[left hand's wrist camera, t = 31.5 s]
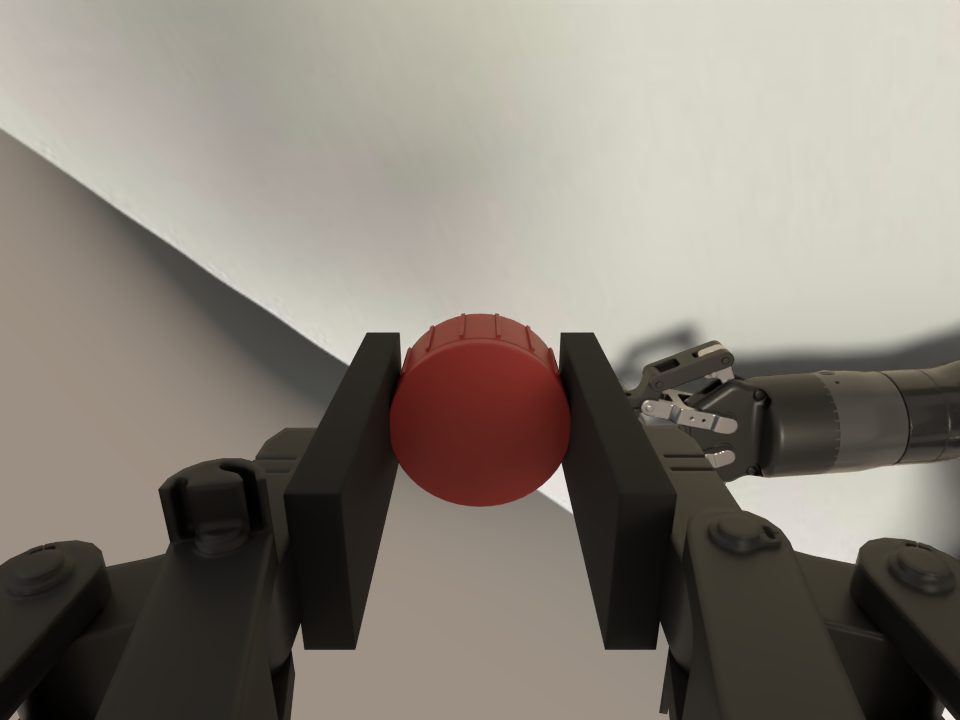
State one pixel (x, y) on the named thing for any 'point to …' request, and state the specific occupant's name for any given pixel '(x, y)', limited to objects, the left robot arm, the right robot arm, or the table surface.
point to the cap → (480, 411)
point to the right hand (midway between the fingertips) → (587, 438)
